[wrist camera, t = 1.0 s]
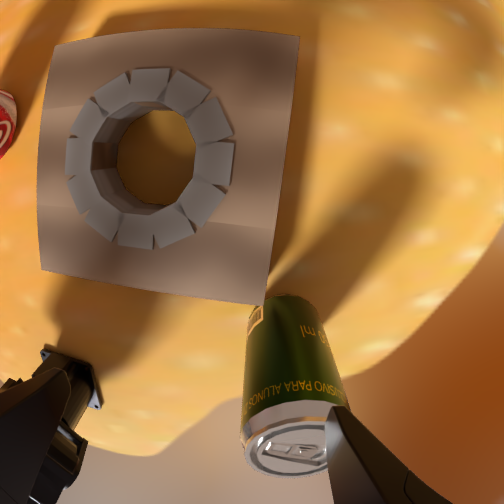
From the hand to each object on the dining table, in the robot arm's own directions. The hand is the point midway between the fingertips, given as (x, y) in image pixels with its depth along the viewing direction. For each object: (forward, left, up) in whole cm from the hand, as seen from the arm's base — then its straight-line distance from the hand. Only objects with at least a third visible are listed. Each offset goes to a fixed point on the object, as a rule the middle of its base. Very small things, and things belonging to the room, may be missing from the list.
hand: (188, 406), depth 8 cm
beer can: (-4, -5, -14) cm, 15 cm away
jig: (+7, +5, -13) cm, 16 cm away
